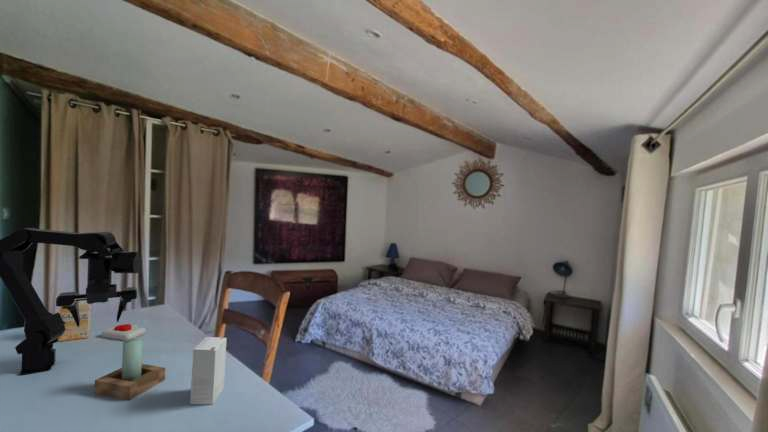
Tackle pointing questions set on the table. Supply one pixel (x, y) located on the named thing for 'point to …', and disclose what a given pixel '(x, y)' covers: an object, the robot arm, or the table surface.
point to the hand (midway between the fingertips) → (98, 324)
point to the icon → (123, 332)
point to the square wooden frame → (129, 382)
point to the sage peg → (132, 359)
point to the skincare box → (208, 370)
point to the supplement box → (70, 326)
